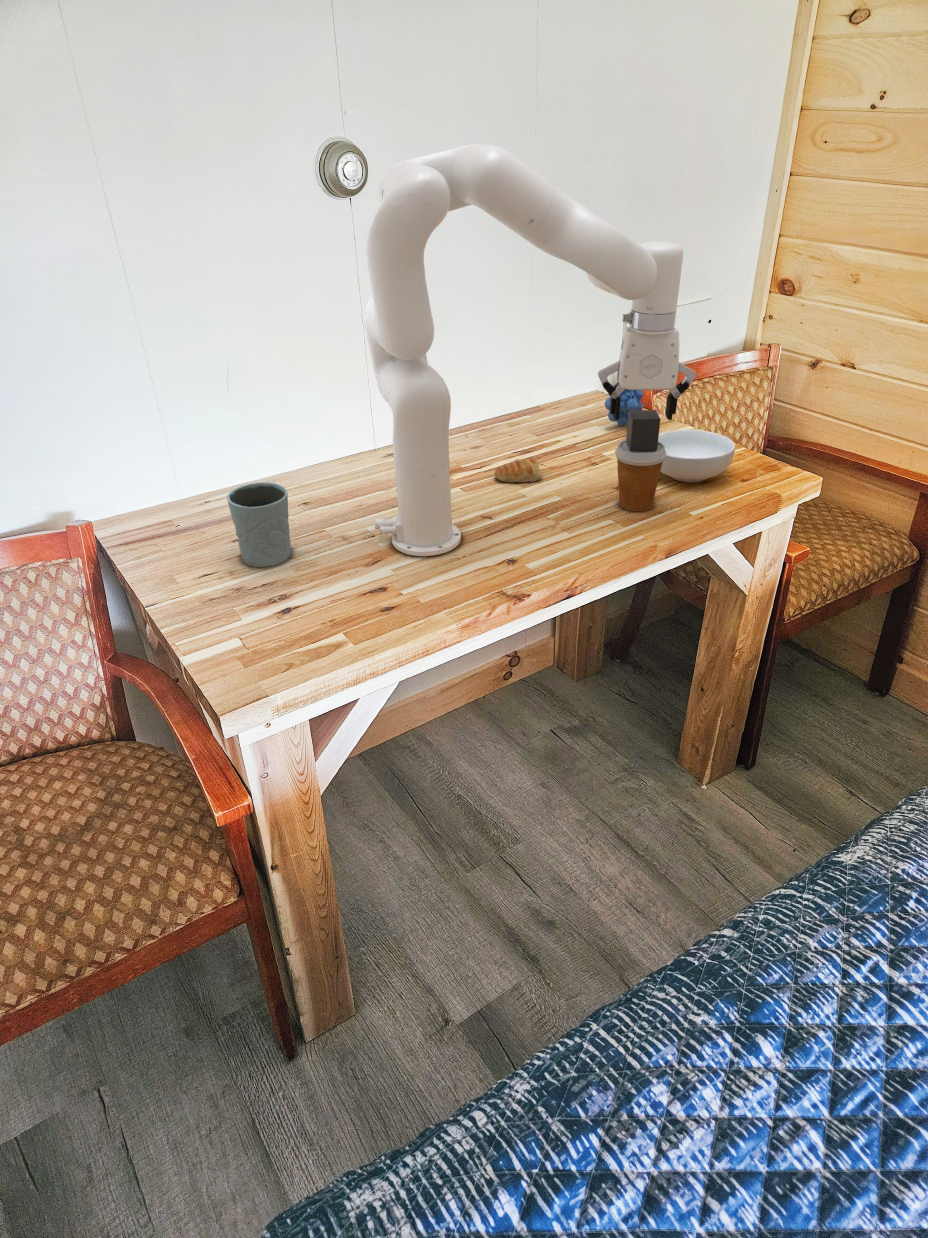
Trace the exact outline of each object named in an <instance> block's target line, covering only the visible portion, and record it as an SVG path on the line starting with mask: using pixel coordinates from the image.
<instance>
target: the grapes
mask: <svg viewBox="0 0 928 1238" xmlns="http://www.w3.org/2000/svg"><path fill="white" fill-rule="evenodd" d="M617 381H618V379H616V382H617ZM611 385H612V386H614V384H611ZM607 394H608V396H609V397H608V398H606V399H605V401H604V407H605V409H606V410H608V413H607V417H608V420H609V421H610V422H612V423H616V424H617V426H619V427H626V426H627V425H628V414H629V410H643V409H644V404H643V402H642V401H641V400H642V399H643V397H644V390H627V389H625V390H624V391H623V392H622V393H621V394H620V395H619V397H620V399H621V401H620V412H619V420H614V417H613V414H610V404H611V395H610V394H609V393H608V392H607Z"/></svg>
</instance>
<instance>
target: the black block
mask: <svg viewBox="0 0 928 1238" xmlns="http://www.w3.org/2000/svg"><path fill="white" fill-rule="evenodd" d="M660 429H661V417H660V415H659V413H658V412H657V410H656V409H644V410H643V409H642V410H629V414H628V422H627V425H626V439H625V440H626V442H627V444H628V447H629V449H630V451H654V450H657V447H658V438H659V434H660Z"/></svg>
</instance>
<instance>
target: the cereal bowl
mask: <svg viewBox="0 0 928 1238" xmlns="http://www.w3.org/2000/svg"><path fill="white" fill-rule="evenodd" d="M658 441H659V442H661V443H662V444H663V445H664V447H665V451H666V453H667V454H666V457H665V458H664V460H663V463H662V467H661V471H660V473H662V474H664V475H666V476H668V477H670V478H672V480H676V481H679V482H682V483H699V482H703V481H705V480H707V479H711V478H714V477H716V476H719V475H720V474H722V473H724V472H725V471H726V470H727V469H728V468H729V467H730V465H731V464H732V462H733V459H734V455H735V452H736V445H735V442H734V441H733V440H732V439H730V438H729V437H727V436H725V435H722V434H720V433H718V432H717V433H716V432H713V431H709V430H702V429H674V430H668V431H665V432H662V433H659V438H658Z"/></svg>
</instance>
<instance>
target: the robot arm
mask: <svg viewBox="0 0 928 1238" xmlns="http://www.w3.org/2000/svg"><path fill="white" fill-rule="evenodd" d="M378 197H379V201H380V205H379V206H378V208H377V209H376V212H375V214H374V216H373V218H372V220H371V223H370V226H369V228H368V229H369V230H368V233H367V238H366V246H365V247H366V250H365V251H366V252H365V253H366V255H365V256H366V265H367V273H368V276H369V277H368V278H369V284H370V285H369V286H370V291H371V297H370V298H369V300H368V302H367V304H366V307H365V311H364V327H365V333H366V340H367V344H368V348H369V353H370V358H371V362H372V367H373V372H374V376H375V381H376V384H377V388H378V390H379V392H380V394H381V397H382V398H383V399H384V401H385V402H386V403H387V405H388V406H389V408H390V410H391V413H392V423H393V424H392V425H393V426H392V453H393V464H394V474H395V487H396V498H397V500H396V501H397V516H392V517H391V518H375V519H374V529H375V530H379V533H380V535H388V534H389V535H390V534H391V544H392V546H393V547H394V548H395V550H397V551H398V552H401V553H403V554H406V555H409V556H415V557H432V556H433V557H434V556H437V555H438V556H439V555H443V554H445V553H448V552H451V551H452V550H454V549H455V548H457V547H458V546H459V545H460V543H461V540H462V532H461V530H460V529H459V528H458V526H456V525H454V524H453V519H452V518H453V517H452V516H453V515H452V513H453V512H452V491H451V490H452V489H451V488H452V487H451V466H450V465H451V462H450V461H451V460H450V439H449V438H450V437H449V436H450V420H451V409H452V401H451V394H450V391H449V388H448V385H447V384H446V382H445V380H444V377H442V376H441V375H440V374H439V372H438V371H437V370H435V368H433V367H432V366H431V365H430V364H429V362H428V357H427V353H428V352H429V350H430V349H431V347H432V345H433V342H434V338H435V323H434V319H433V313H432V309H431V304H430V298H429V292H428V285H427V279H426V278H427V277H426V271H425V270H426V268H425V249H426V246H427V243H428V241H429V239H430V237H431V235H432V234H433V232H434V231H435V230H436V229H437V228H438V226H439V225H440V224H442V222H443V221H444V220H445V218H446V217H447V214H448V213H449V212H452V211H456V210H459V209H462V208H465V207H469V206H474V207H477V208H479V209H481V210H482V211H483V212H485V213H486V214H487V215H489V216H491V217H492V218H493V219H495V220H496V221H498V222H499V223H501V224H502V225H504V226H505V227H507V228H508V229H510V230H511V231H513V232H514V233H516V234H517V235H518V236H520V237H521V238H523V239H524V240H525V241H527V242H529V243H530V244H531V245H532V246H534V247H535V248H537V249H539V250H541V251H542V252H544V253H545V254H548V255H550V256H551V257H554V258H557V259H559V260H562V261H565V262H566V263H569V264H570V265H573V266H575V267H576V268H578V269H579V270H581V271H583V272H585V273H586V275H587V278H588V279H589V281H590V282H591V283H592V285H594V287H596V288H598V289H600V290H601V291H605V292H607V293H609V294H612V295H615V296H617V297H619V298H621V299H623V300H627V301H632V302H631V308H630V311H629V312H627V313H622V317H621V322H622V323H627V324H628V325H629V326H627V327H626V328H625V331H624V334H623V336H622V337H623V338H622V342H621V347H620V352H619V357H618V361H616V362H614V363H612V364H610V365H607V366H605V367H604V368H602V369H600V370H598V371H597V376H598V378H599V381H600V383H601V385H602V388H603V389H604V391H606V392H607V394H608V393H609V394H610V395H611V397H610V398H611V404H610V410H609V411H610V414H613V417H614V420H619V412H620V401H621V399H620V397H619V395H620V394H621V393H622V392H623V391H624V390H625V389H627V390H643V391H667V390H668V392H669V393H668V394H667V396H666V404H665V411H664V415H665V417H666V419H667V421H672V420H673V415H676V413H677V408H678V407H677V406H678V399H679V398H681V395H682V394H683V393H685V392H686V391H687V390H688V389H689V388H690V386H691V384H692V383H693V381H694V380H695V378H696V377H697V372H696V370H694V369H692V368H690V367H689V366H686V365H685V364H683V363H681V362H680V333H679V332H680V331H679V329H677V328H676V327H675V324H676V318H677V317H676V316H677V310H678V309H677V308H678V300H679V293H680V285H681V276H682V270H683V269H682V268H683V262H684V261H683V260H684V249H683V247H682V245H680V244H679V243H677V242H673V241H667V240H666V241H665V240H655V241H647V242H644V243H637V242H636V241H635V240H634V239H632V238H631V237H630V236H628V235H627V234H626V233H624V232H623V231H621V230H620V229H618V228H617V227H615V226H614V225H612V224H611V223H610V222H608V221H607V220H605V219H603V217H600V216H599V215H597V214H596V213H595V212H593V211H591V210H590V209H589V208H587V207H586V206H585V205H583V204H582V203H580V202H578V201H577V200H576V199H574V198H572V197H571V196H569V195H568V194H567V193H565V192H564V191H563V190H561V189H560V188H558V187H557V186H556V185H554V184H553V183H551V182H550V181H549V180H547V179H546V178H545V177H543V176H542V175H541V174H539V172H537V171H535V170H534V169H533V168H532V167H530V166H529V165H527V164H526V163H525V162H524V161H522V160H521V159H519V158H518V157H517V156H515V154H513V153H511V152H510V151H508V150H507V149H505V148H503V147H501V146H498V145H494V144H487V143H478V142H475V143H469V144H464V145H461V146H457V147H453V148H450V149H446V150H443V151H442V150H441V151H438V152H434V153H429V154H426V155H421V156H417V157H413V158H409V159H405V160H401V161H399V162H396V163H394V164H393V165H391V166H389V167H388V168H387V170H386V171H385V172H384V174H383V175H382V177H381V180H380V181H379V187H378ZM615 373H616V378H617V379H616V382H615V383H614V384H612V383H610V381H609V379H608V377H609V376H611V375H613V374H615ZM679 373H681V374H683V375H684V378H683V380H681V381H680V382H679V383H678V377H679V375H678V374H679ZM617 380H618V381H617ZM677 383H678V384H677ZM612 385H614V386H612ZM609 394H608V395H609Z"/></svg>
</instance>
